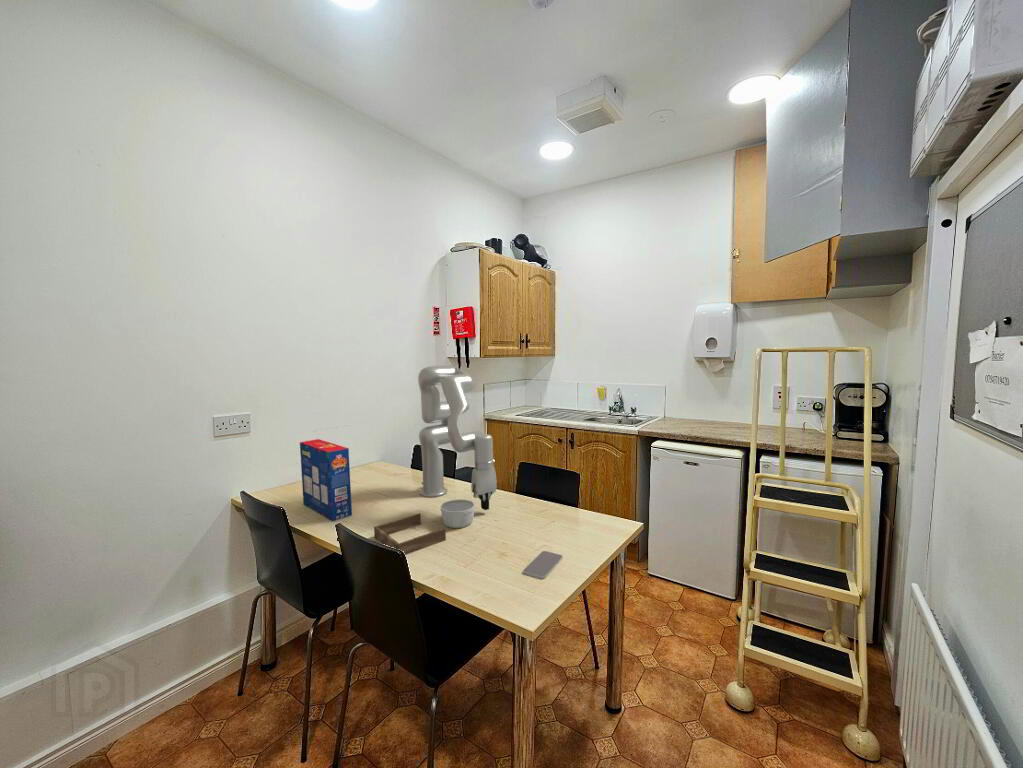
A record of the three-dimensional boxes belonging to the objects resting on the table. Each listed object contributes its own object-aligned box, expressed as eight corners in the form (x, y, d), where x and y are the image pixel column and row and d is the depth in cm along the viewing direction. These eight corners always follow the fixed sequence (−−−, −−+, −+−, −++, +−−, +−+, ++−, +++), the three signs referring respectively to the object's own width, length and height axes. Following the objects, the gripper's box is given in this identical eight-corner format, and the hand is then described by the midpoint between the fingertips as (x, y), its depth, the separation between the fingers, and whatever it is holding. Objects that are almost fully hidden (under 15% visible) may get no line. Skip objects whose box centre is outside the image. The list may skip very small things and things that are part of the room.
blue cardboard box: (351, 515, 169) (348, 448, 166) (332, 521, 163) (328, 452, 160) (321, 499, 187) (318, 439, 185) (303, 504, 181) (299, 442, 179)
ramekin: (459, 513, 169) (458, 496, 169) (482, 521, 161) (482, 503, 160) (433, 524, 159) (433, 506, 159) (457, 533, 151) (457, 514, 150)
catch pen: (374, 537, 148) (374, 526, 148) (419, 523, 160) (419, 513, 159) (398, 557, 134) (397, 545, 133) (445, 539, 145) (445, 529, 145)
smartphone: (564, 555, 132) (544, 577, 119) (564, 558, 132) (544, 580, 119) (543, 550, 136) (521, 571, 123) (543, 553, 136) (521, 574, 123)
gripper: (492, 459, 174) (493, 501, 176) (463, 466, 165) (464, 511, 166) (504, 463, 169) (505, 506, 170) (474, 470, 159) (475, 516, 161)
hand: (485, 508), depth 168 cm, fingers closed
